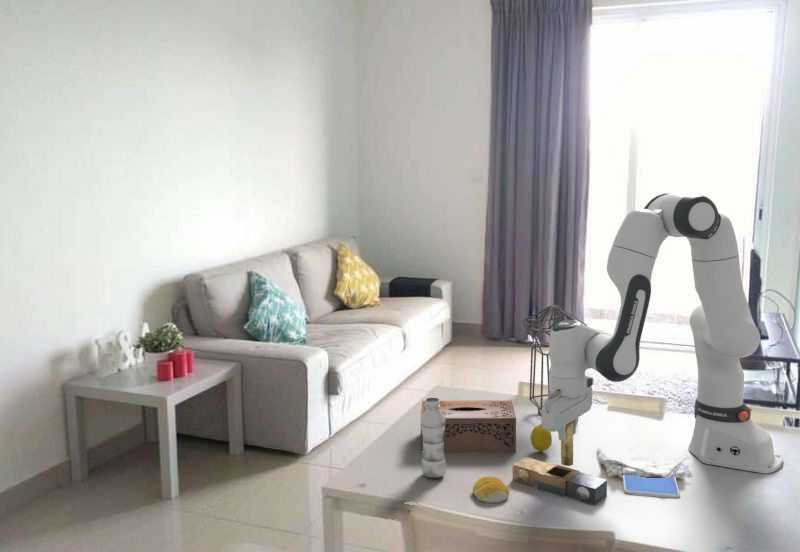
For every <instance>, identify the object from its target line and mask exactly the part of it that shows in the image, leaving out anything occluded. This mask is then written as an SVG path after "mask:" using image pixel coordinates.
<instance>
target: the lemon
mask: <svg viewBox="0 0 800 552" xmlns="http://www.w3.org/2000/svg"><path fill="white" fill-rule="evenodd" d="M552 438H553V435H552V431H547V430H544V429H543V428H542V424H541V423H540V424H538V425H536V426H534V427H533V429H532V430H531V434H530V443H531V446H532V447H533V448H534V449H535V450H537V451H538V452H539V453H543V452H545V451H547V450H548V449H549V448H550V447H551V445H552V440H553V439H552Z"/></svg>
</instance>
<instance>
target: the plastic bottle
mask: <svg viewBox="0 0 800 552" xmlns="http://www.w3.org/2000/svg"><path fill="white" fill-rule="evenodd" d="M424 401H425V408H426V410H425V411H424V412H423V414H422V416H421V415H420V417H421V419H420V420H419V421H420V423H421V425H420V431H421V430H422V436H423V452H422V457H421V462H420V463H421V465H420V467H421V472H422V474H423V475H424V477H426V478H429V479H438V478H443V477H444V475H445V474H446V472H447V469H448V468H447V466H448V465H447V460H446V456H445V455H446V452H444V431H445V417H444V415H443V413H442V412H441V411H440V409H439V408H440V401H441V400H440V399H439V398H437V397H428V398H426V399H425V400H424Z"/></svg>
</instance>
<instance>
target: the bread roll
mask: <svg viewBox="0 0 800 552" xmlns="http://www.w3.org/2000/svg"><path fill="white" fill-rule="evenodd" d="M472 494H473V495H474V496H475V497H476V498H477V500H479V501H481V502H484V503H486V504H487V503H488V504H492V503H493V504H495V503H501V502H504V501H506V500H507V498H508V497H509V495H510V489H509V487H508V486H507V485H505V484H504V481H502V480H501V479H500V478H498V477H496V476H489V475H488V476H487V475H486V476H483V477H482V476H481V477H480V478H479V479H477V480H476V481H475V482H474V484H473V487H472Z"/></svg>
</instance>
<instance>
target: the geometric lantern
mask: <svg viewBox="0 0 800 552" xmlns="http://www.w3.org/2000/svg"><path fill="white" fill-rule="evenodd" d="M540 314H541V315H540ZM538 315H539V316H538ZM536 316H538V317H537V318H536V319H532V318H534V317H536ZM562 317H565V318H566V320H577V321H580V322H581V323H582V324H584V325H586V326H588V324H586V323H585V322H583V321H582V320H580V319H578V318H577V317H576V316H574V315H573V314H571V313H569V312H568V311H566V310H564V308H561V306H558V305H557V304H552V305H548V306H547V307H545V308H543V309H541V310H540V311H537V312H535V313H534V314H531V315H530V316H528V317H526V318H524V319H523V320H521V321H520V323H522V324H523V326H524V328H525V329H526V331H527V332H528V335H529V337H532V345H530V374H529V375H530V376H529V377H530V378H529V402H531V403H532V404H533V405H534V406H535V407H536V408H537V414H538V415H539V416H541V417H542V408H543V397H548V395H549V394H550V393H551V392H550V391H549V370H550V361H549V360H550V359H549V352H548V353H544V352H543V350H542V348H541V346H543V345H549V342H544V343H543V342H542V343H539V341H538V340H539V337H540V334H541V333H544V334H546V335H548V336H549V337H550V333H551V330H552V328H553V326H554V325H555V324H557V323H558V321H559V320H560V321H559V322H561V321H563V318H562ZM553 320H554V322H553V323H552V324H551V321H553ZM546 323H547V324H546ZM539 324H540V325H539ZM545 324H546V327H545ZM538 328H539V329H538ZM543 330H544V331H543ZM533 331H536V333H535V334H534V332H533ZM537 347H538V349H539V350H538V349H537ZM537 353H539V354H541V362H540V363H541V368H540V369H541V370H540V373H541V375H540V394H538V395H535V385H536V383H535V382H536V364H537V363H536V362H537V360H536V359H537ZM544 356H546V369H547V370H546V371H547V390H548V391H547V393H546V394H543V391H544V389H543V388H544V386H543V385H544ZM535 398H540V405H539V404H538V402H537V401H536V399H535Z"/></svg>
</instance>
